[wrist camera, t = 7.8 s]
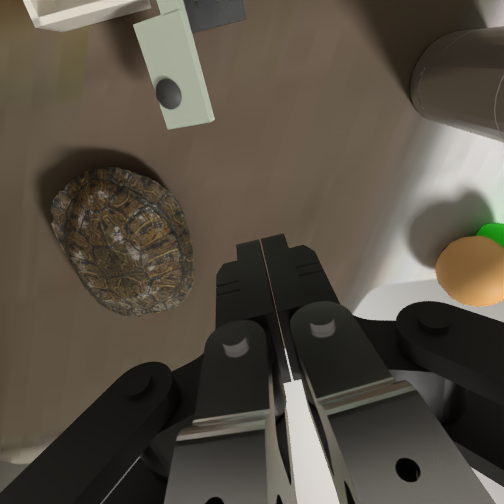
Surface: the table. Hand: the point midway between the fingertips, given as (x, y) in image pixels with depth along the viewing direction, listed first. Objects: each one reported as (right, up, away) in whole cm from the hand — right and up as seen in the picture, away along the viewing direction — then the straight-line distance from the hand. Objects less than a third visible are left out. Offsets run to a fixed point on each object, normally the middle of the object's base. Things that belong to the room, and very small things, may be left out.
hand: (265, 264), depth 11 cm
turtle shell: (-16, +3, +35) cm, 39 cm away
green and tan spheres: (+32, 0, +41) cm, 52 cm away
